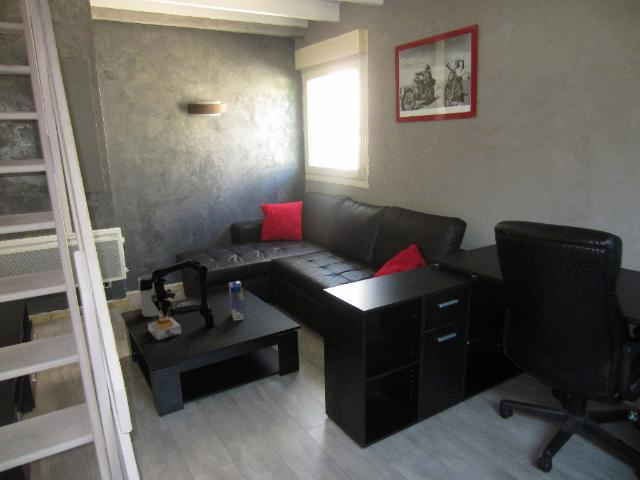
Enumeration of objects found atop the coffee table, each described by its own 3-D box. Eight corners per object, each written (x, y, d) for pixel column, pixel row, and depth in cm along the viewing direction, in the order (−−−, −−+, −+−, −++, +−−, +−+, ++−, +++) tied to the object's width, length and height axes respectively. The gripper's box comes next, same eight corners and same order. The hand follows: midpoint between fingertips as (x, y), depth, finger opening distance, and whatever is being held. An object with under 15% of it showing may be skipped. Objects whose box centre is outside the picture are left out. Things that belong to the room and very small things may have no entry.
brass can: (169, 324, 267) (168, 313, 265) (161, 326, 264) (160, 315, 262) (166, 322, 270) (165, 311, 269) (158, 324, 267) (157, 313, 266)
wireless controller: (174, 315, 293) (171, 290, 289) (173, 308, 306) (170, 284, 302) (205, 310, 301) (203, 286, 297) (202, 303, 313) (200, 279, 309)
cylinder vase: (156, 317, 290) (151, 281, 284) (138, 316, 292) (133, 280, 286) (166, 310, 301) (162, 275, 295) (149, 309, 304) (145, 274, 298)
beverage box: (241, 312, 294) (239, 280, 288) (244, 319, 284) (242, 286, 278) (231, 314, 292) (228, 282, 286) (233, 320, 281) (230, 287, 276)
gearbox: (183, 334, 264) (182, 323, 262) (159, 342, 256) (158, 330, 254) (171, 324, 279) (170, 314, 277) (148, 331, 270) (147, 320, 269)
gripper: (179, 289, 259) (181, 314, 263) (167, 282, 274) (170, 305, 277) (159, 294, 253) (163, 320, 256) (149, 286, 267) (152, 310, 271)
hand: (162, 313), depth 265 cm, fingers open, 9 cm apart
